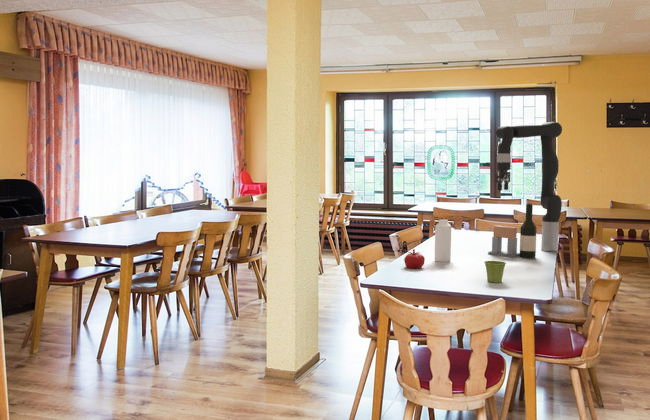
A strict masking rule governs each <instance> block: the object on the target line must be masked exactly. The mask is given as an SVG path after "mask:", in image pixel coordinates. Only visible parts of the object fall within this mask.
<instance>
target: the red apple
mask: <svg viewBox="0 0 650 420" xmlns="http://www.w3.org/2000/svg"><path fill="white" fill-rule="evenodd" d="M415 251H416V250H415V249H414V248H412V251H408V252H407V253H408V254H406V255H405V257H404V258H403V259H404V260H403V261H404V264H405V267H406V268H408V269H417V268H418V269H420V268H421V269H422V267H423V266H424V265H425V256H424V255H422V253H421V252H419V251H417V252H415Z"/></svg>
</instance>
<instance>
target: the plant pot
mask: <svg viewBox="0 0 650 420" xmlns="http://www.w3.org/2000/svg"><path fill="white" fill-rule="evenodd" d="M484 264H485V265H484V266H485V269H486V279H487V282H489V283H490V282H491V283H494V284H495V283H502V282H503V275H504V271H505V267H506V264H507V263H506V262H505V261H502V260H501V261H500V260H486V261H484Z"/></svg>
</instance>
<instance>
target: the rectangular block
mask: <svg viewBox="0 0 650 420" xmlns="http://www.w3.org/2000/svg"><path fill="white" fill-rule="evenodd" d="M517 228H518V227H516V226H504V225H503V226H502V225H494V226H493V236H492V237H500V238H502V239H508V238H511V239H515V238H517V233H518V232H517V231H518V229H517Z"/></svg>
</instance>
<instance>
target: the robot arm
mask: <svg viewBox="0 0 650 420" xmlns="http://www.w3.org/2000/svg"><path fill="white" fill-rule="evenodd" d="M562 132H563V127H562V125H561V124H560V123H559V122H556V121H548V122H544V123H542V124H537V125H536V124H535V125H534V124H530V125H529V124H528V125H527V124H523V125H522V124H521V125H513V126H509V125H505V126H504V125H503V126H499V127H498V128H496V130H495V136H496V137H497V138H499V139H501V142H500V143H498V145H497V156H496V171H497V172H496V175H495V176H496V177H495V183H496V184H497V191H502V190H504V191H508V190H509V183H511V171H510V170H511V169H512V168H511V167H512V165H511V163H512V162H511V161H512V158H511V157H512V156H511V151H512V149H511V148H512V147H511V146H512V144H513V140H514V138H515V139H523V138H532V137H533V138H534V137H540V145H541V192H540V206H541V207H542V208H543V209H545V210H546V213H545V215H543V216H542V222H541V223H542V224H541V226H542V227H541V247H540V248H541V249H540V250H541V251H544V252H558V251H559V227H560V226H559V225H560V219H561V215H562V207H563V206H562V203H563V202H562V198H561V196H559V195H558V194H555V193H554V185H555V181H556V179H557V177H558V174H559V159H558V155H557V153H556V151H555V149H554V146H553V145H554V143H553V139H554V138H558V137H559V136H561V135H562Z"/></svg>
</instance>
